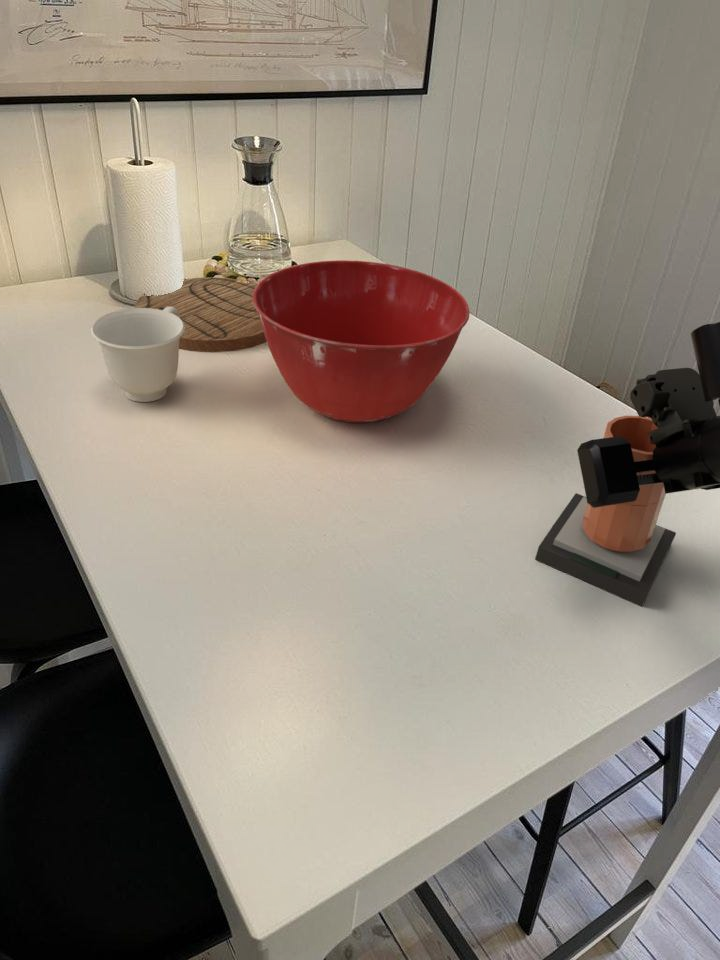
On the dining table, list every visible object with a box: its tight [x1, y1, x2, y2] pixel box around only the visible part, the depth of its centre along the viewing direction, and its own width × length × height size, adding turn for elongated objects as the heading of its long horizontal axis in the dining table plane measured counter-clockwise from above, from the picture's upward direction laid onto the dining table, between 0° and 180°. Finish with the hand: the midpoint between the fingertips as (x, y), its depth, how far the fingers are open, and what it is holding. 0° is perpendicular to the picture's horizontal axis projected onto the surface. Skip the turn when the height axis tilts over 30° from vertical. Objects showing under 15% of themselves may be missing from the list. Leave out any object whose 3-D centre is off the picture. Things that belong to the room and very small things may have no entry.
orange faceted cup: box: [582, 415, 667, 552], centre depth 79 cm, size 7×7×13 cm
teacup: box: [90, 307, 185, 403], centre depth 104 cm, size 12×15×10 cm
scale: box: [534, 492, 677, 608], centre depth 84 cm, size 12×12×3 cm
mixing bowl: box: [253, 259, 470, 424], centre depth 104 cm, size 28×28×16 cm
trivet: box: [134, 276, 267, 353], centre depth 126 cm, size 25×25×2 cm
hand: (621, 476), depth 80 cm, fingers closed on orange faceted cup, 7 cm apart
